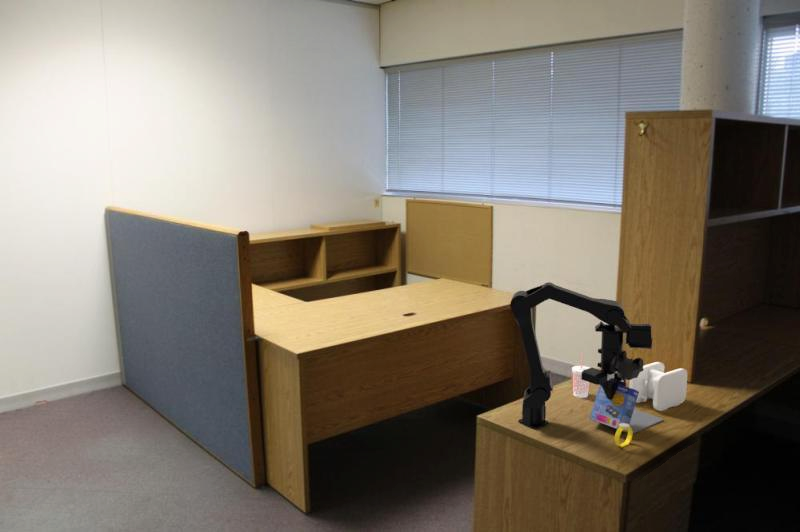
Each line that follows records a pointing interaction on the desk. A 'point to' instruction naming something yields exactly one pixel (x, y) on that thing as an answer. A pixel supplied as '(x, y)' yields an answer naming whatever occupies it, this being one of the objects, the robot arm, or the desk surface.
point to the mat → (642, 420)
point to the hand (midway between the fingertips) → (610, 399)
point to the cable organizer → (660, 386)
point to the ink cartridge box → (615, 406)
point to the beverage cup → (579, 381)
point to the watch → (618, 433)
